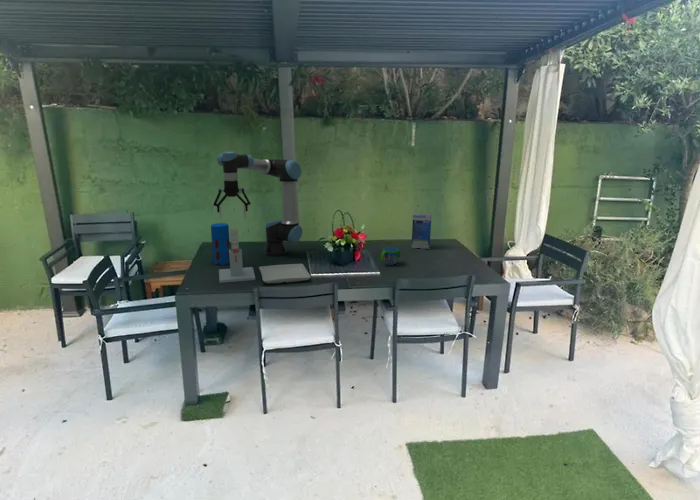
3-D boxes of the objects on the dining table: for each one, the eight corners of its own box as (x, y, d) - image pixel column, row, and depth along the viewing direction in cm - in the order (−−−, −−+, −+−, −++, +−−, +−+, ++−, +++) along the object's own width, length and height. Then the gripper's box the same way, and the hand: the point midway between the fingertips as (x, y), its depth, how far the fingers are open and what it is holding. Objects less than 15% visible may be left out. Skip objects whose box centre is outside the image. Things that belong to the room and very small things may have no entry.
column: (240, 271, 263) (237, 228, 256) (240, 273, 259) (237, 230, 252) (232, 271, 262) (230, 229, 255) (233, 274, 258) (230, 230, 251)
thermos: (225, 265, 280) (223, 227, 273) (210, 264, 282) (207, 226, 275) (233, 260, 290) (231, 223, 283) (218, 259, 292) (215, 222, 285)
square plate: (311, 282, 253) (311, 276, 252) (263, 287, 245) (263, 280, 244) (302, 268, 278) (302, 262, 277) (258, 271, 270) (258, 265, 269)
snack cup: (394, 260, 295) (395, 245, 293) (404, 264, 287) (405, 249, 284) (375, 264, 287) (376, 248, 284) (385, 268, 279) (386, 252, 276)
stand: (252, 269, 273) (251, 243, 269) (255, 280, 255) (254, 252, 250) (219, 271, 268) (217, 246, 263) (219, 282, 249) (217, 255, 245)
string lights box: (429, 247, 328) (432, 213, 320) (429, 250, 320) (431, 215, 313) (411, 246, 330) (413, 212, 323) (410, 248, 323) (412, 214, 316)
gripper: (253, 178, 253) (254, 215, 258) (207, 179, 246) (210, 217, 252) (254, 180, 246) (255, 217, 251) (207, 181, 239) (210, 219, 245)
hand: (233, 217), depth 252 cm, fingers open, 13 cm apart
